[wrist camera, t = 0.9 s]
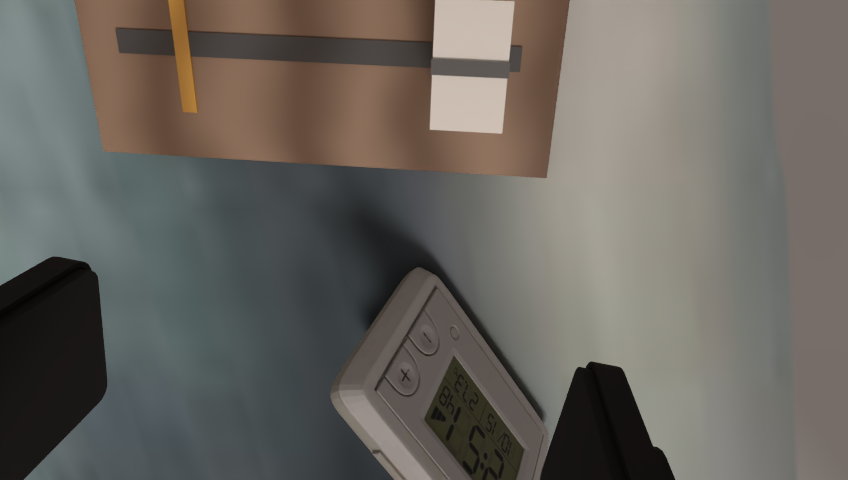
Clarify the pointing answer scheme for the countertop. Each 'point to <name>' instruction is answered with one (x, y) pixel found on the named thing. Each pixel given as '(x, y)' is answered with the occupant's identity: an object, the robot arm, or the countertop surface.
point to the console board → (309, 83)
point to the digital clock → (437, 394)
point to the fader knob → (470, 65)
